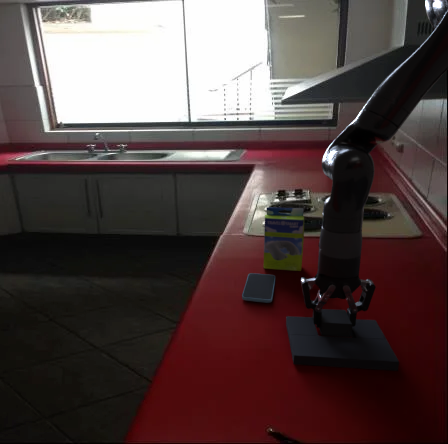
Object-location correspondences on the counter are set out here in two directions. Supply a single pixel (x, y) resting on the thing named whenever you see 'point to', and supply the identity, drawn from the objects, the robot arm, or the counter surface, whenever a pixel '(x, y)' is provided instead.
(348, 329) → the dark grey square block
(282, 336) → the counter surface
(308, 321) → the u-shaped block
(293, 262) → the box
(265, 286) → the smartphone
